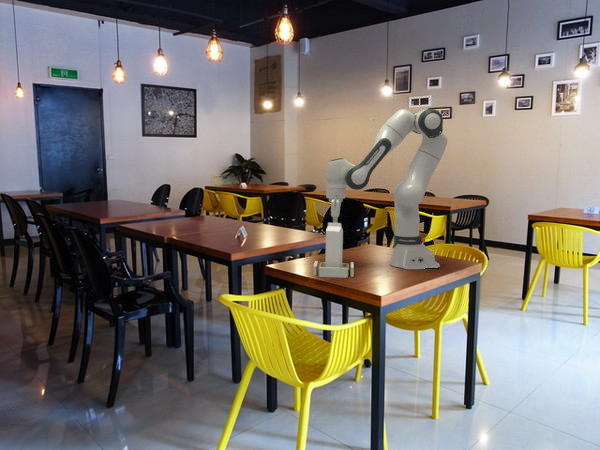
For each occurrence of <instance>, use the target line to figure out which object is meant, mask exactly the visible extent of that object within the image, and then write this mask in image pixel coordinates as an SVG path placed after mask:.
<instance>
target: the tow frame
mask: <svg viewBox="0 0 600 450" xmlns="http://www.w3.org/2000/svg"><path fill="white" fill-rule="evenodd" d="M319 267H325V262H321V261H320V262H318V270H317V276H318V277H319ZM342 268H348V278H349V277H350V263H349V262H342Z"/></svg>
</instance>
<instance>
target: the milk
mask: <svg viewBox="0 0 600 450" xmlns="http://www.w3.org/2000/svg"><path fill="white" fill-rule="evenodd" d="M343 244H344V229H343V227H342V222H337V223H333V222H327V227H326V230H325V267H333V268H342V263H343V249H344V247H343V246H344V245H343Z"/></svg>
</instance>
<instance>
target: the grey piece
mask: <svg viewBox="0 0 600 450" xmlns="http://www.w3.org/2000/svg"><path fill="white" fill-rule="evenodd" d="M354 265H355V264H354V261H351V262H350V269H349V272H350V277H351V278H352V277H353V278H354V276H355V275H354V274H355V273H354V267H355V266H354ZM318 267H319V262H318V260H315V261H314V263H313V271H312V273H313V274H312V275H313V276H314V277H315V276H317V275H318ZM318 277H319V278H338V279H339V278H340V279H341V278H342V279H343V278H344V279H345V278H346V279H348V278H349V277H348V268H333V267H319V276H318Z"/></svg>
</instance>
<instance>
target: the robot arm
mask: <svg viewBox="0 0 600 450" xmlns="http://www.w3.org/2000/svg"><path fill="white" fill-rule="evenodd" d="M443 119H444V118H443V115H442V113H441V112H440V111H438V110H437V109H435V108H425V109H424V108H423V109H421V110H419V111H416V112H411V111H410V110H408V109H405V108H401V109H399V110H396V112H395V113H394V114H392V115H391V116H390V117H389V118H388V119H387V120H386V121H385V122H384V124H383V125H382V126H381V128H380V129H379V131H377V134H376V135H375V139H374V143H373V146H372V148H371V149H370V151H369V152H368V154H367V155H366V156H365V157H364V158H363V159H362V160H361V162H359V163H358V164H357V165H356V164H353V163H351V162H349V161H348V160H346V159H345V158H343V157H342V158H335V159H331V160H330V161H328V163H327V166H326V181H327V182H326V188H325V192H326V193H325V197H326V198H327V199H328V202H330V203H331V205H330V216H331V217H332V223H338V220H339V219H338V218H339V216H340V213H341V212H340V211H341V205H342V202H343V199H346V191H347V186H348V187H349V188H350V189H352V190H355V191H359V190H362V189H364V188H365V187H367V186H368V183H369V181H370V178H371V175H372V173H373V171H374V170H375V169H376V168H377V167H378V165H379V164H380V162H381V161H382V160H384V158H385V157H386V156H387V155H388V154H389V153H390V152H392V151H394V149H396V148H397V147H398V146H399V145H400V144H401V143H402V142H403V141H404V139H405V138H407V136H408V135H409V134H410V133H411V132H413V133H415V134H417V135H421V136H422V140H421V143H420V146H419V147H418V148H417V151H416V153H415V154H414V157H412V160H411V162H410V164H409V166H408V169H407V172H406V174H405V176H404V179H403V180H402V181H401V182H399V183H398V184H397V185H396V186H395V188H394V191H393V192H394V197H393V198H394V234H393V239H392V246H393V250H392V256H391V259H390V262H389V264H390V266H392V267H396V268H400V269H403V270H426V269H425V268H438V267H441V265H440V263H439V262H437V261H436V257H435V254H434V252H433V251H432V250H431V249H430V248H428V247H427V246H426V245H425V244H424V243H425V242H426V238H424V237H422V236H421V235H420V221H421V219H420V209H419V205H420V204H421V203H422V201H423V198H424V196H425V195H426V194H425V193H426V191H427V189H428V187H429V184H430V181H431V179H432V177H433V175H434V173H435V170H436V169H437V167H438V165H439V163H440V161H441V159H442V158H443V156H444V153H445V151H446V148H447V145H448V137H447V136H446V135H445V134H444V133H443V131H444V130H443V129H444V128H443V125H444V120H443Z"/></svg>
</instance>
